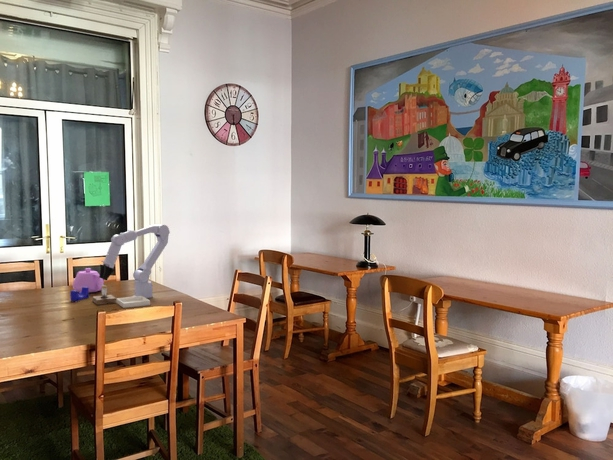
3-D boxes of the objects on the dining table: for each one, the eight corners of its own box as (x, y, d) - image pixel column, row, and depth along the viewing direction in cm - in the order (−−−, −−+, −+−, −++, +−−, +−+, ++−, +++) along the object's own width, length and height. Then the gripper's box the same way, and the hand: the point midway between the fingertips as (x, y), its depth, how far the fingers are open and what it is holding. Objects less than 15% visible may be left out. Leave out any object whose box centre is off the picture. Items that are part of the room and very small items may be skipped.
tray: (142, 300, 300) (142, 295, 300) (150, 305, 289) (150, 300, 288) (116, 302, 292) (116, 298, 292) (123, 308, 281) (123, 303, 280)
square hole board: (111, 299, 301) (111, 294, 301) (116, 302, 293) (116, 298, 293) (92, 301, 296) (92, 296, 296) (96, 304, 288) (96, 300, 287)
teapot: (118, 290, 327) (118, 267, 326) (87, 295, 309) (86, 272, 308) (95, 285, 339) (95, 264, 338) (64, 291, 321) (63, 268, 319)
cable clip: (81, 297, 306) (81, 286, 306) (88, 297, 305) (88, 287, 305) (68, 301, 294) (68, 290, 294) (75, 302, 294) (75, 291, 293)
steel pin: (106, 301, 296) (106, 285, 295) (107, 302, 294) (107, 285, 293) (101, 301, 295) (101, 285, 294) (102, 302, 293) (102, 286, 292)
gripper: (101, 252, 299) (92, 275, 297) (108, 254, 287) (99, 278, 285) (113, 256, 303) (104, 278, 301) (121, 258, 291) (111, 282, 289)
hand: (102, 278), depth 293 cm, fingers open, 7 cm apart
